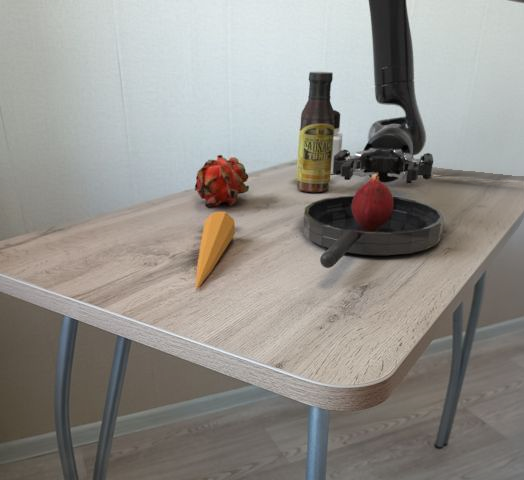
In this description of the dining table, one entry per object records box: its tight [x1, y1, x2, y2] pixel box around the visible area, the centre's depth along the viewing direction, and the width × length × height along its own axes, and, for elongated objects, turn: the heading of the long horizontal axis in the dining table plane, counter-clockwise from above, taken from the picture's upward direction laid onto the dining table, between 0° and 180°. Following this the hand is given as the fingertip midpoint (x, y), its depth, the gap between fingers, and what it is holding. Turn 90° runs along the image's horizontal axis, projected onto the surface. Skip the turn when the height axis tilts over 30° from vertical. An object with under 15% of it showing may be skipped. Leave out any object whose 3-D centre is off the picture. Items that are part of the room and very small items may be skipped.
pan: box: [302, 194, 445, 257], centre depth 78 cm, size 19×19×4 cm
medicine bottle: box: [330, 109, 343, 175], centre depth 116 cm, size 7×7×12 cm
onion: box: [351, 174, 394, 232], centre depth 77 cm, size 6×6×8 cm
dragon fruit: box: [194, 154, 250, 208], centre depth 93 cm, size 8×8×12 cm
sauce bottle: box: [296, 71, 335, 193], centre depth 99 cm, size 6×6×20 cm
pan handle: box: [319, 230, 358, 269], centre depth 66 cm, size 11×2×2 cm, turn 155°
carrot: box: [195, 211, 236, 291], centre depth 70 cm, size 20×4×4 cm, turn 175°
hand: (378, 174), depth 76 cm, fingers open, 8 cm apart
